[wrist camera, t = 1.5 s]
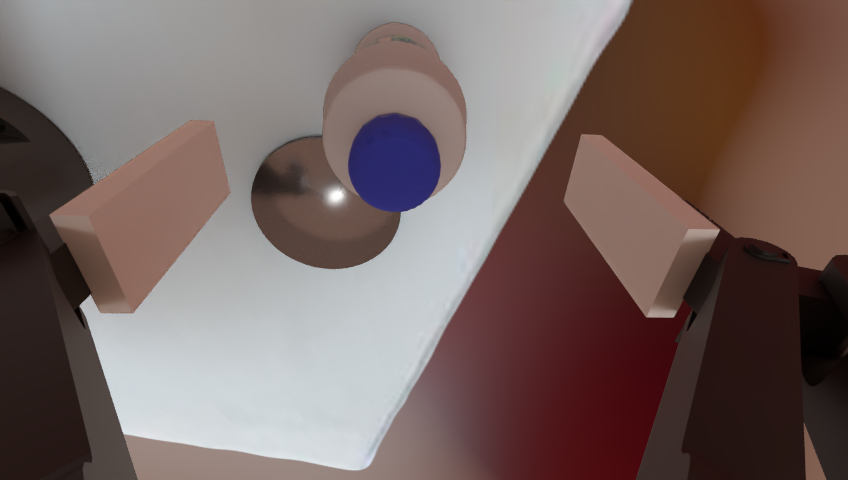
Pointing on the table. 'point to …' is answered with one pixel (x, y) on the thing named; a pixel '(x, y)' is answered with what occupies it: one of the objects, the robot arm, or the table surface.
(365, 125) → the bottle
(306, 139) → the flange disc
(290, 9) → the table surface
